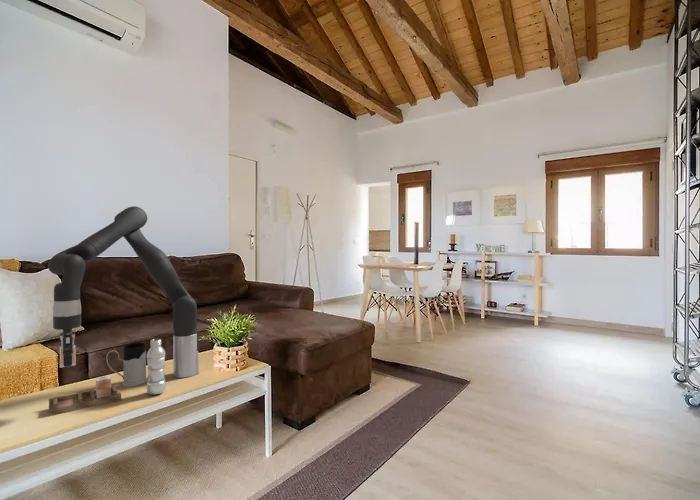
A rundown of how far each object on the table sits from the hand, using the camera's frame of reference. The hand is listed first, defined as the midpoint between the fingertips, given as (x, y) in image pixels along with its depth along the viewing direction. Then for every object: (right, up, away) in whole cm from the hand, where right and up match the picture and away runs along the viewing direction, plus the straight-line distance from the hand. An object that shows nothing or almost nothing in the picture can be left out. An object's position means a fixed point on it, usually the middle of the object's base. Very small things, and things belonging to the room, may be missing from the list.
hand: (67, 363), depth 123 cm
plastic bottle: (+23, -15, +13) cm, 31 cm away
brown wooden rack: (+4, -15, +4) cm, 16 cm away
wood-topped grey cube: (0, 0, 0) cm, 1 cm away
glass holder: (+6, -15, +23) cm, 29 cm away
